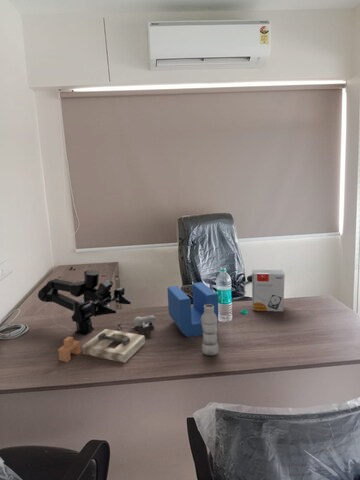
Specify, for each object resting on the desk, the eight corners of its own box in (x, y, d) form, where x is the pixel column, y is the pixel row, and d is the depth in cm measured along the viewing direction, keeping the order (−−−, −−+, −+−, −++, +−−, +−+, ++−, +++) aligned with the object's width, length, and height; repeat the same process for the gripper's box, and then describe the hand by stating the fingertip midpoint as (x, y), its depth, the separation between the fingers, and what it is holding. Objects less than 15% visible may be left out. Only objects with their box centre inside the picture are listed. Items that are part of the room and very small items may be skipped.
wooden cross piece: (59, 360, 133) (57, 342, 132) (73, 350, 140) (71, 333, 139) (67, 362, 132) (65, 344, 130) (80, 351, 139) (78, 334, 137)
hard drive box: (252, 311, 171) (252, 273, 167) (251, 305, 179) (251, 269, 175) (284, 311, 169) (284, 273, 165) (282, 306, 176) (282, 269, 172)
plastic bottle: (214, 359, 129) (213, 310, 125) (198, 355, 132) (197, 307, 128) (221, 351, 134) (220, 304, 130) (206, 347, 137) (205, 301, 134)
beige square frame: (83, 353, 137) (81, 341, 136) (106, 336, 151) (105, 325, 150) (124, 362, 129) (123, 350, 128) (145, 343, 144) (144, 331, 142)
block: (203, 316, 168) (202, 281, 164) (218, 331, 151) (217, 293, 148) (169, 322, 163) (167, 287, 159) (181, 339, 146) (179, 300, 142)
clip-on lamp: (117, 342, 152) (155, 333, 150) (112, 330, 150) (151, 321, 148) (122, 328, 163) (157, 319, 161) (118, 317, 161) (153, 308, 159)
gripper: (79, 287, 138) (108, 299, 131) (110, 272, 154) (137, 282, 146) (80, 310, 142) (107, 323, 135) (110, 294, 157) (136, 304, 150)
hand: (123, 307), depth 141 cm, fingers open, 9 cm apart
